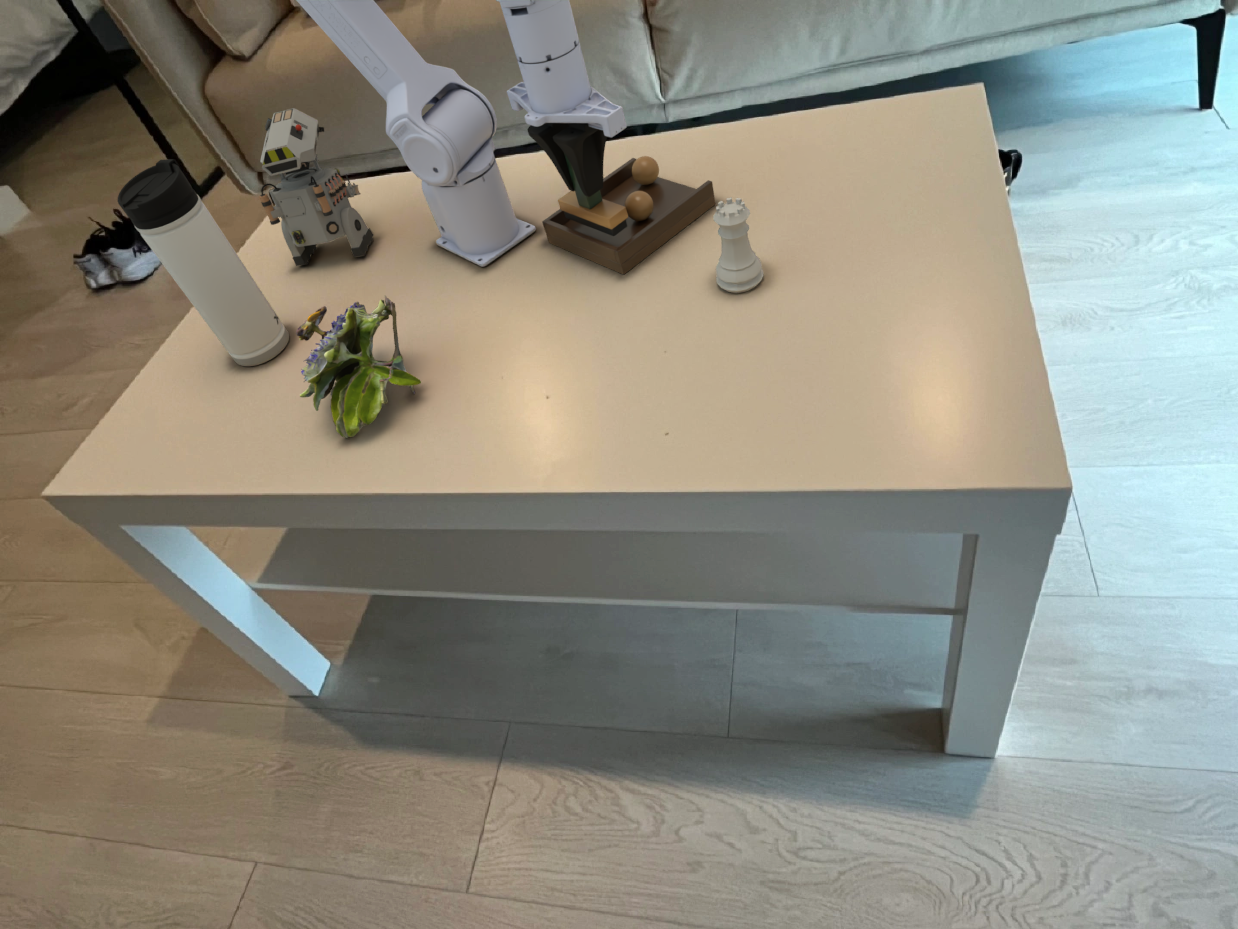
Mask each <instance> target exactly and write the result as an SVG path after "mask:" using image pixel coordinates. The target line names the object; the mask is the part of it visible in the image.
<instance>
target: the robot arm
mask: <svg viewBox="0 0 1238 929" xmlns="http://www.w3.org/2000/svg"><path fill="white" fill-rule="evenodd" d="M295 1H296V2H297V3H298V4H299V5H300V7H301V8H302V9H303V10H304V11H305V12H306V13H307V14H308V15H309V17H310V18H311V19H312V20H313V21H314V23H316V24H317V25H318V27H319V28H320V29H321V30H322V31H323V32H324V33H325V35H326V36H327V37H328V38H329V39H330V40H331V41H332V43H333V44H335V46H336V47H337V48H338V49H339V50H340V51H341V53H342V54H343V55H344V56H345V57H346V58H347V60H349V61H350V62H351V64H352V65H353V66H354V67H355V68H356V70H358V72H359V73H360V74H361V75H362V76H363V77H364V79H365V80H366V81H367V82H368V83H369V84H370V85H371V86H372V88H373V89H374V90H375V91H376V92H377V93H378V94H379V96H381V98H382V99H383V100H384V101H385V102H386V113H385V114H386V116H385V133H386V134H385V135H387V136H388V138H389V139H390V140H391V141H392V142H393V143H394V144H395V146H396V147H397V149H398V150H399V152H400V154H401V157H402V159H403V161H404V163H405V165H406V166H407V167H408V169H409V170H410V171H411V172H412V174H413V175H415V177H417V178H419V179H420V180H421V190H422V194H423V197H424V199H425V202H426V204H427V206H428V208H429V211H430V213H431V215H432V218H433V219H434V220H433V221H434V222H435V224H436V227H437V229H438V231H439V234H440V237H438V238H437V239H436V240H435V243H436V245H437V246H439V247H440V248H443V249H445V250H447V251H449V252H451V253H453V254H455V255H457V256H459V257H461V258H462V259H465V260H467V261H469V262H471V263H473V264H476V266H479V267H486V266H488V265H489V264H491V263H492V262H493V261H495V260H496V259H498V258H499V257H501V256H502V255H503V254H505V253H507V252H508V251H509V250H511V249H512V248H513V247H515V246H516V245H518V244H519V243H520V242H522V241H523V240H525V239H527V237H529V236H530V235H533V233H535V232H536V231H537V227H536V226H535V225H533V224H531V223H529V222H527V221H523V220H521V219H519V218H517V216H516V213H515V211H514V207H513V205H512V202H511V199H510V196H509V193H508V191H507V188H506V186H505V182H504V180H503V177H502V174H501V171H500V168H499V166H498V163H497V162H498V161H497V160H496V157H495V153H494V152H495V150H496V147H495V144H494V141H493V138H494V136H495V135H496V132H497V129H498V119H497V114H496V111H495V109H494V107H493V105H492V103H491V102H490V101H489V99H488V98H487V97H486V96H485V95H484V94H483V93H482V92H481V91H479V90H478V89H477V88H475V87H473V86H472V85H470V84H469V83H467V82H466V81H464V80H463V79H462V77H460V75H459V74H458V73H457V72H456V70H455V69H454V68H450V67H446V66H443V65H438V64H432V63H428V62H427V61H426V60H424V58H423V57H422V56H421V55H420V53H419V52H418V51H417V50H416V49H415V47H414V46H413V45H412V44H411V42H410V41H409V40H408V39H407V38H406V37H405V36H404V34H403V33H402V32H401V31H400V30H399V29H398V27H397V26H396V25H395V24H394V23H393V21H392V20H391V19H390V18H389V17H388V15H387V13H385V12H384V11H383V9H382V8H381V7H380V6H379V5H378V4H377V2H376V1H375V0H295ZM495 1H496V2H498V3H499V5H500V8H501V11H502V15H503V18H504V21H505V25H506V27H507V31H508V34H509V38H510V41H511V44H512V46H513V51H514V55H515V57H516V61H517V65H518V67H519V71H520V73H521V78H522V81H520V82H519V83H517V84H515V85H514V86H512V87H510V88H509V89H507V90H506V95H507V98H508V100H509V103H510V107H511V109H512V111H515V112H520V111H522V110H525V111H526V112H527V113H526V114H525V115H524V118H523V119H524V121H525V124H527V125H529V126H528V128H527V133H528V136H529V137H530V138H531V139H532V140H533V141H534V142H536V144H537V145H538V146H539V147H540V148H541V149H542V150H543V151H544V153H545V154H546V155H547V156H548V159H550V161H551V162H552V164H553V166H554V168H555V169H556V171H557V172H558V174H559V176H560V178H561V179H562V180H563V182H564V184H565V186H566V188H568V191H569V192H570V191H573V192H574V191H575V190H574V186H573V183H572V179H571V176H570V172H569V169H568V165H567V162H566V158H565V155H566V157H567V158H568V160H569V162H570V164H571V166H572V168H573V170H574V173H575V176H576V178H577V181H578V184H579V186H580V188H581V190H582V192H583V194H584V195H585V196H587V197H591V196H592V195H593V194H595V193H596V192H598V191H599V190H600V189H602V188H603V178H604V160H605V159H604V158H605V149H606V145H607V139H608V138H610V139H612V138H613V137H616V135H618V134H619V133H621V132H622V131H624V130H625V129H626V128H627V127H628V125H627V120H626V117H625V112H624V108H623V106H621V105H618V104H615V103H614V102H611V100H610V99H608V98H606V97H605V96H604V95H603V94H601V92H600V91H598V90H597V89H595V88H594V87H593V86H592V85H591V83H590V79H589V74H588V71H587V66H586V63H585V58H584V54H583V50H582V47H581V46H582V45H581V42H580V38H579V34H578V30H577V26H576V21H575V18H574V13H573V9H572V6H571V1H570V0H495ZM427 105H432V107H430V108H429V109H428V110H427V111H426V112H425V113H424V114H423V109H424V108H425V107H426V106H427ZM564 153H565V155H564Z"/></svg>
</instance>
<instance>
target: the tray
mask: <svg viewBox="0 0 1238 929" xmlns="http://www.w3.org/2000/svg"><path fill="white" fill-rule="evenodd" d="M637 159H638V158H636V157H631V158H630V159H629V160H628V161H625V163H623V164H622V165H621V166H619V167H617V168H616V169H615V170H613V171H612V172H611V173H608V174H607V175H606V176H605V177H603V188H602V189H600V193H601V197H602V199H604V200H607V201H610V202H613V203H616V204H619V205H621V206H624V207H625V201H626V199H627V197H628V196H629V195H630V194H631V193H633V192H635V191H643V192H646V193H647V194H649V195H650V197H651V198H652V200H653V205H654V207H653V211H652V214H651V215H650V216H649V217H648V218H647V219H646V220H643V221H635V220H632V219H631V218H630V217H629V216H628V218H627V219H626V222H627V227H626V228H625V229H623V230H622V231H621V232H619V233H618V234H617V235H615V236H611V235H609V234H606V233H604V232H601V231H599V230H596V229H593V228H591V227H588V226H586V225H583V224H581V223H578V222H575V221H573V220H570V219H568V218H566V217H565V214H564V211H562V210H560V208H559V209H558V210H556V211H555V212H554V213H552V214H551V215H549V216H548V217H546V218H544V219H543V220H542V221H541V222H542V225H543V229H544V232H545V236H546V238H547V241H548V244H551V245H553V246H555V247H558V248H560V249H563V250H564V251H568V252H569V253H571V254H574V255H577V256H579V257H582V258H584V259H586V260H588V261H591V262H593V263H596V264H597V265H601V266H603V267H605V268H607V269H610V270H611V271H614V272H616V273H619V274H620V275H621V274H622V275H626V273H628V272H629V271H630V270H632V269H633V268H635V267H636V266H637V265H639V263H641V262H643V261H644V260H645V259H647V257H649V256H650V255H652V254H653V253H654V252H655V251H657V250H658V249H659V248H660V247H663V245H664V244H666V243H667V242H668V241H670V240H671V239H672V238H673V237H675V236H677V235H678V234H679V233H680V232H681V231H682V230H684V229H685V228H686V227H688V226H689V225H690V224H691V223H693V222H695V220H697V219H698V218H699V217H701V216H702V215H703V214H705V213H706V212H707V211H709V210H710V209H711V208H712V207H714V206H715V205H716V198H715V192H714V191H715V190H714V184H713V180H706V181H705V182H704V183H702V184H701V185H700V186H698V187H696V188H695V187H692V186H689V185H685V184H682V183H679V182H675V181H673V180H669V179H666V178H663V177H659V176H658V177H657V179H656V180H655V181H654V182H653V183H652V184H649V185H641V184H639V183H637V182H636V181H635V180H634V178H633V176H632V166H633V164H634V162H635V161H636V160H637Z"/></svg>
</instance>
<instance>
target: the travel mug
mask: <svg viewBox="0 0 1238 929" xmlns="http://www.w3.org/2000/svg"><path fill="white" fill-rule="evenodd" d="M117 204H118V205H119V206H120V208H121V209H122V211H123V212H124V213H125V215H126V216H127V218H129V219H130V221H131V223H132V224H133V226H134V228H135V229H136V231H137V232H139V234H140V236H141V238H142V239H143V240H144V241H145V243H146V244H147V246H148V247H149V248H150V250H151V251H152V252H153V253H154V254H155V256H156V257H157V259H158V261H160V263H161V264H162V265H163V267H164V268H165V270H166V272H168V274H169V275H170V276H171V278H172V279H173V280H174V282H175V283H176V285H177V286H178V287H179V289H180V290H181V291H182V292H183V294H184V296H186V298H187V299H188V301H189V302H190V303H191V304H192V306H193V307H194V309H195V310H196V311H197V313H198V314H199V315H200V317H201V318H202V320H204V322H205V323H206V325H207V326H208V328H209V329H210V330H211V331H212V333H213V334H214V335H215V337H216V338H217V339H218V341H219V342H220V343H221V346H223V348H224V349H225V350H226V351H227V353H228V354H229V355H230V356H229V357H231V359H232V360H233V361H234V362H235V363H236V364H237V365H239V366H241V367H253V366H259V365H262V364H265V363H267V362H268V361H271V360H273V359H274V358H275V357H277V356H278V355H279V354H281V353H282V351H283V350H284V349H285V348H286V347H287V345H288V344H289V341H290V332H289V331H288V329H287V328H286V327H285V324H284V323H283V322H282V320H281V319H280V317H279V316H278V314H277V313H276V311H275V310H274V309H273V307H272V305H271V304H270V302H269V300H268V299H267V298H266V296H265V294H264V293H263V291H262V290H261V288H260V287H259V285H258V283H257V282H256V281H255V279H254V278H253V276H252V274H251V273H250V272H249V270H248V269H247V267H246V265H245V264H244V262H243V261H242V259H241V258H240V256H239V255H238V253H237V252H236V251H235V249H234V247H233V245H231V243H230V241H229V240H228V238H227V237H226V235H225V234H224V232H223V231H222V229H221V228H220V226H219V225H218V223H217V222H216V220H215V218H214V217H213V215H212V214H211V212H210V211H209V209H208V208H207V207H206V205H205V203H204V202H203V201H202V199H201V197H200V195H199V194H198V193H197V192H196V191H195V189H194V188H193V187H192V185H191V183H190V181H189V180H188V179H187V177H186V176H185V174H184V172H183V171H182V169H181V167H180V164H179V162H178V161H177V160H176V158H168V159H167V158H166V159H159V160H158V161H157V162H156V163H155V165H153V166H151V167H148V168H146V169H144V170H142V171H141V172H139V173H137V174H136V175H134V177H132V178H131V179H129V181H128V182H126V183H125V184H124V185H123V187H122V188H121V189H120V191H119V193H118V196H117Z"/></svg>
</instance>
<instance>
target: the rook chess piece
mask: <svg viewBox="0 0 1238 929" xmlns="http://www.w3.org/2000/svg"><path fill="white" fill-rule="evenodd" d="M725 200H726V203H725V202H724V201H723V200H720V201H719V202H717V206H715V212H714V214H713V216H712V219H713V222H715V223H716V224H717V225H718V226H719V228H718V230H717V235H718V236H719V237H720V240H721V241H720V242H721V245H720V246H721V252H720V256H719V258H718V262H717V264H716V266H715V275H716V277H715V278H716V279H715V281H716V284H717V285H718V287H720V288H721V289H722V290H724V291H726V292H729V293H733V294H740V293H745V292H749V291H750V290H753V289H755V287H757V286H758V285H759V284H760V283H761V281H762V280H763V277H764V269H763V265H762V261H761V259H760V257H759V256H758V255H757V254H756V252H755V251H754V250H753V248H752V246H751V242H750V240H749V233H748V232H749V230H750V225H749V224H748V222H747V220H748V219H749V217H750V215H751V211H750V208H748V206H746V204H745V200H743V199H742V198H740V197H736V198H735V201H733V196H732V197H731V196H730V197H727V198H725ZM742 200H743V201H742Z"/></svg>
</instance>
